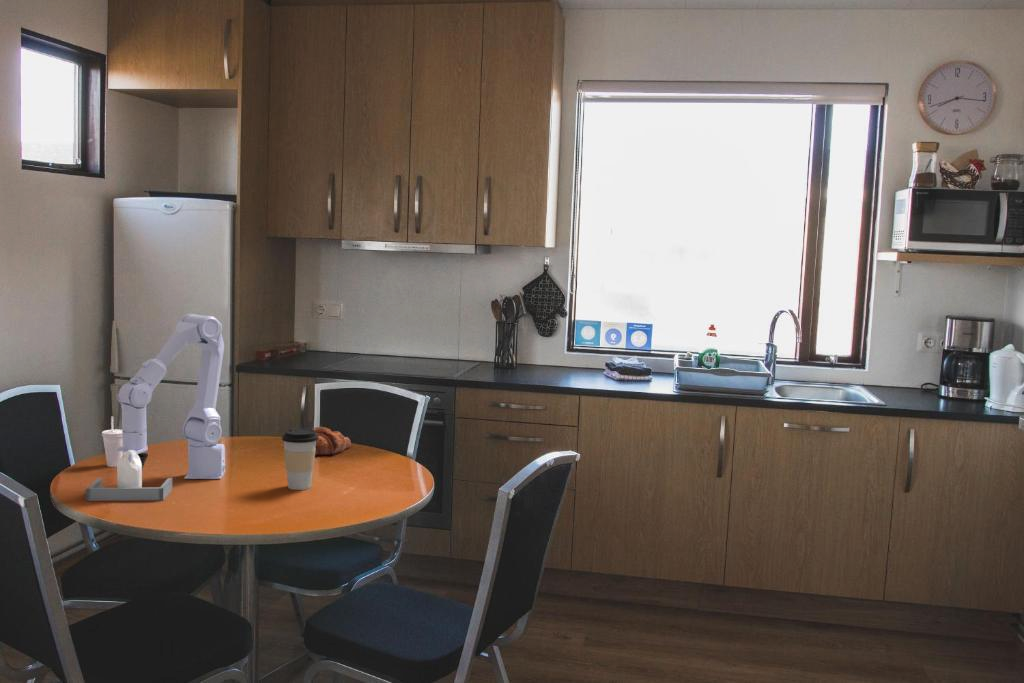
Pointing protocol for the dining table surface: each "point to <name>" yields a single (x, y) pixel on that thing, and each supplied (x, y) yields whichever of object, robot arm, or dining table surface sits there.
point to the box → (127, 492)
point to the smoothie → (112, 445)
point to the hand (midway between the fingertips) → (135, 482)
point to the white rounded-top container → (129, 471)
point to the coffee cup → (299, 457)
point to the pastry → (330, 442)
